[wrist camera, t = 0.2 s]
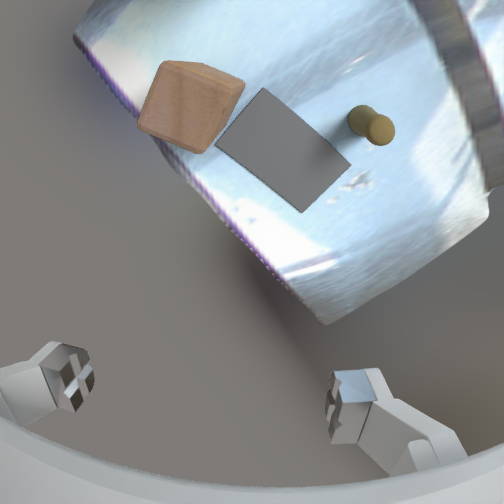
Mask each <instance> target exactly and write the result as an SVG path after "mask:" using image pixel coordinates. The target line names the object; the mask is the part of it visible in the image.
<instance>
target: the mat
mask: <svg viewBox="0 0 504 504" xmlns="http://www.w3.org/2000/svg"><path fill="white" fill-rule="evenodd" d="M215 145H217V146H218V147H219V148H221V149H222V150H223V151H225V152H226V153H227V154H229V155H230V156H231V157H233V158H234V159H235V160H237V161H238V162H239V163H241V164H242V165H243V166H244V167H246V168H247V169H248V170H250V171H251V172H252V173H253V174H255V175H256V176H257V177H258V178H260V179H261V180H262V181H264V182H265V183H266V184H267V185H269V186H270V187H271V188H272V189H274V190H275V191H276V192H277V193H279V194H280V195H281V196H282V197H283V198H285V199H286V200H287V201H288V202H290V203H291V204H292V205H293V206H294V207H296V208H297V209H298V210H299V211H301V212H302V213H303V212H304V211H305V210H306V209H307V208H308V207H309V206H310V205H311V204H312V203H313V202H314V201H315V200H316V199H317V198H318V197H319V196H320V195H321V194H322V193H324V192H325V191H326V190H327V189H328V188H329V187H330V186H331V185H332V184H333V183H334V182H335V181H336V180H337V179H338V178H339V177H340V176H341V175H342V174H343V173H344V172H345V171H346V170H347V169H348V168H349V167H350V166H351V164H350V163H349V162H348V161H347V160H346V159H345V158H344V157H343V156H342V155H341V154H340V153H339V152H338V151H337V150H336V149H334V148H333V147H332V146H331V145H330V144H329V143H328V142H327V141H326V140H325V139H324V138H323V137H322V136H320V135H319V134H318V133H317V132H316V131H315V130H314V129H313V128H312V127H310V126H309V125H308V124H307V123H306V122H305V121H304V120H303V119H301V118H300V117H299V116H298V115H297V114H296V113H294V112H293V111H292V110H291V109H290V108H288V107H287V106H286V105H285V104H284V103H282V102H281V101H280V100H279V99H277V98H276V97H275V96H274V95H273V94H271V93H270V92H269V91H268V90H266V89H265V88H263V89H262V90H261V91H260V92H259V93H258V94H257V95H256V97H255V98H254V99H253V100H252V101H251V102H250V103H249V105H248V106H247V107H246V108H245V109H244V110H243V111H242V113H241V114H240V115H239V116H238V117H237V119H236V120H235V121H234V122H233V123H232V124H231V126H230V127H229V128H228V129H227V131H226V132H225V133H224V134H223V135H222V137H221V138H220V139H219V140H218V142H217V143H216V144H215Z"/></svg>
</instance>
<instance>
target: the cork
mask: <svg viewBox="0 0 504 504" xmlns="http://www.w3.org/2000/svg"><path fill="white" fill-rule="evenodd" d="M348 123H349V126H350V128H351V130H352V131H353V132H355V133H356V134H358V135H361V136H364V137H366V138H367V139H368V140H369V141H370V142H371V143H372V144H374V145H378V146H383V145H387V144H388V143H390V142H391V141H392V140H393V138H394V136H395V127H394V125H393V123H392V121H391V120H390V119H389V118H388V117H386V116H384V115H381V114H378V113H377V112H375V111H374V110H373V109H372V108H371V107H369V106H366V105H359V106H357V107H355V108H353V109H352V110H351V112H350V114H349V117H348Z"/></svg>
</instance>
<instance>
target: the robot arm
mask: <svg viewBox="0 0 504 504" xmlns="http://www.w3.org/2000/svg"><path fill="white" fill-rule="evenodd" d="M89 360H90V358H89V355H88V352H87V351H86V350H85V349H83V348H79V347H76V346H71V345H68V344H64V343H59V342H55V341H50V342H49V343H47V345H45V346H44V347H43V348H42V349H41V350H40V351H39V352H37V353H36V354H35V355H34V356H33V357H32V358H31V359H30V360H29V361H23V362H19V363H16V364H13V365H10V366H7V367H3V368H0V504H504V443H502V444H500V445H497V446H495V447H492V448H490V449H488V450H485V451H482V452H480V453H477V454H474V455H471V456H469V457H468V456H467V454H466V452H465V450H464V448H463V447H462V445H461V443H460V441H459V439H458V438H457V436H456V434H455V432H454V431H453V430H451V429H449V428H448V427H446V426H444V425H442V424H441V423H439V422H437V421H435V420H433V419H432V418H430V417H428V416H426V415H425V414H423V413H422V412H420V411H418V410H416V409H415V408H413V407H411V406H409V405H408V404H406V403H405V402H403V401H401V400H399V399H394V398H393V396H392V394H391V392H390V390H389V388H388V386H387V384H386V382H385V380H384V378H383V376H382V374H381V372H380V370H379V369H378V368H369V369H362V370H345V371H332V372H331V374H330V378H329V384H330V389H329V390H328V391H327V393H326V398H325V415H326V419H327V420H328V421H329V422H330V424H329V427H328V432H329V437H330V442H331V444H347V443H358V445H359V446H360V447H361V448H362V449H363V450H364V451H365V452H366V453H367V454H368V455H369V456H370V457H371V458H372V459H373V460H375V461H376V462H377V463H378V464H379V465H380V466H381V467H382V468H383V469H384V470H385V471H386V472H387V473H388V474H389V475H390V476H389V478H384V479H378V480H372V481H365V482H358V483H349V484H340V485H328V486H313V487H251V486H234V485H224V484H214V483H205V482H198V481H191V480H185V479H179V478H173V477H168V476H163V475H158V474H153V473H149V472H145V471H140V470H136V469H133V468H129V467H125V466H121V465H118V464H114V463H111V462H108V461H104V460H101V459H98V458H95V457H92V456H89V455H86V454H83V453H81V452H78V451H75V450H73V449H69V448H67V447H65V446H62V445H60V444H57V443H55V442H53V441H50V440H48V439H45V438H43V437H41V436H39V435H36V434H34V433H32V432H30V431H28V430H26V429H24V428H23V427H25V426H26V425H28V424H30V423H32V422H34V421H35V420H37V419H38V418H40V417H42V416H44V415H46V414H48V413H49V412H51V411H53V410H55V409H56V408H57V407H58V408H62V409H65V410H68V411H71V412H74V413H76V411H77V410H78V409H79V407H80V406H81V404H82V403H83V402H84V400H83V396H85V395H87V394H89V393H90V392H91V390H92V389H93V386H94V382H95V378H94V372H93V369H92V368H91V367H90V366H89V364H88V362H89Z"/></svg>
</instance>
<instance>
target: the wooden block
mask: <svg viewBox="0 0 504 504" xmlns="http://www.w3.org/2000/svg"><path fill="white" fill-rule="evenodd" d="M244 88H245V82H244V81H243V80H241V79H239V78H236V77H234V76H232V75H230V74H227V73H225V72H222V71H220V70H218V69H215V68H213V67H210V66H208V65H205V64H203V63H196V62H184V61H163V62H162V63H161V64H160V66H159V68H158V71H157V73H156V75H155V78H154V80H153V82H152V85H151V87H150V90H149V92H148V95H147V97H146V100H145V103H144V105H143V108H142V111H141V113H140V116H139V119H138V122H137V128H139V129H140V130H141V131H143V132H146V133H148V134H151V135H153V136H156V137H158V138H160V139H163V140H165V141H168V142H170V143H172V144H175V145H177V146H179V147H182V148H184V149H186V150H189V151H191V152H193V153H195V154H202V153H203V152H204V151H205V150H206V149H207V148H208V147H209V146H210V144H211V143H212V142H213V140H214V139H215V138H216V137H217V135H218V134H219V133H220V132H221V131H222V129H223V128H224V127H225V126H226V124H227V122H228V120H229V118H230V116H231V114H232V112H233V110H234V108H235V106H236V104H237V102H238V100H239V98H240V96H241V94H242V92H243V90H244Z"/></svg>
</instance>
